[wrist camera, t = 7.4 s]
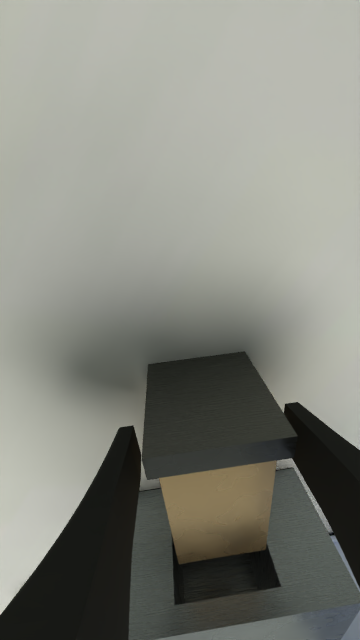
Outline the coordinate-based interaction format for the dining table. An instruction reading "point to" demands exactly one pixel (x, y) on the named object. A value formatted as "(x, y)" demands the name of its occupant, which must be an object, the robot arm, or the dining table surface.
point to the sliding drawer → (214, 452)
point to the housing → (242, 579)
